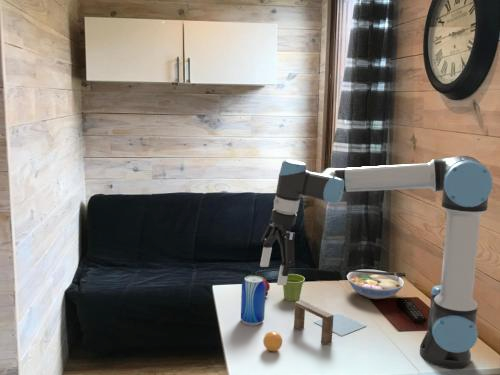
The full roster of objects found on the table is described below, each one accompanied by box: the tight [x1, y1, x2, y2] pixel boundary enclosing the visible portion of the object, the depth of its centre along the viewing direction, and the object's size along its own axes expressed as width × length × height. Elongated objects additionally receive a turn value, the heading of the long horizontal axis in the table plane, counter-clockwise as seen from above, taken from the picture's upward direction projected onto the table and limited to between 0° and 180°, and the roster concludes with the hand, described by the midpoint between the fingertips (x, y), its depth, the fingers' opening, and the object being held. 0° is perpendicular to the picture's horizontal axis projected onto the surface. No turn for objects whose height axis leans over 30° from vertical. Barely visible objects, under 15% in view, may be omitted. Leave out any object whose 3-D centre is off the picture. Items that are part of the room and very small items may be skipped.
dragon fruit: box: [261, 276, 271, 297], centre depth 209 cm, size 8×8×12 cm
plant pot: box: [282, 273, 306, 302], centre depth 207 cm, size 9×9×9 cm
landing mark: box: [313, 312, 367, 337], centre depth 186 cm, size 13×13×1 cm
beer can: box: [240, 275, 266, 327], centre depth 185 cm, size 8×8×16 cm
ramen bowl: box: [343, 269, 406, 300], centre depth 213 cm, size 25×23×8 cm
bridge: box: [293, 299, 335, 346], centre depth 177 cm, size 3×15×10 cm, turn 39°
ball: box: [263, 331, 283, 352], centre depth 166 cm, size 6×6×6 cm
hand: (272, 275), depth 164 cm, fingers open, 13 cm apart
